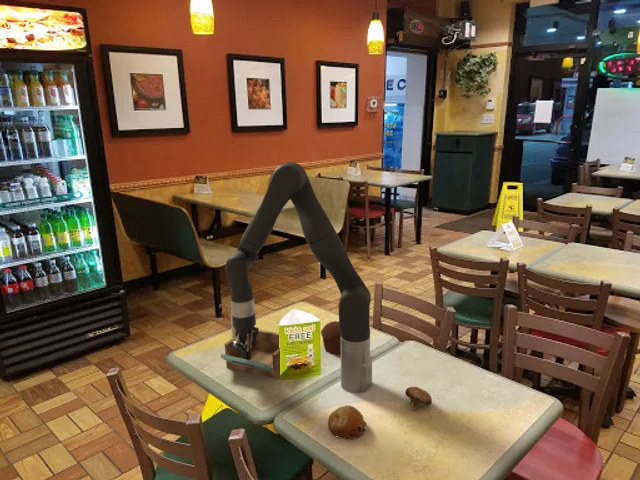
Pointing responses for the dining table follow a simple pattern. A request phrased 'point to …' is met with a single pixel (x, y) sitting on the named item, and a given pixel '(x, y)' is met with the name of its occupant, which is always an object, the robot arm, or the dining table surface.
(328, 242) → the robot arm
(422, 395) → the mushroom
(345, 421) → the bread roll
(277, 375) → the box
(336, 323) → the muffin
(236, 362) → the panel
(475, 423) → the dining table surface
